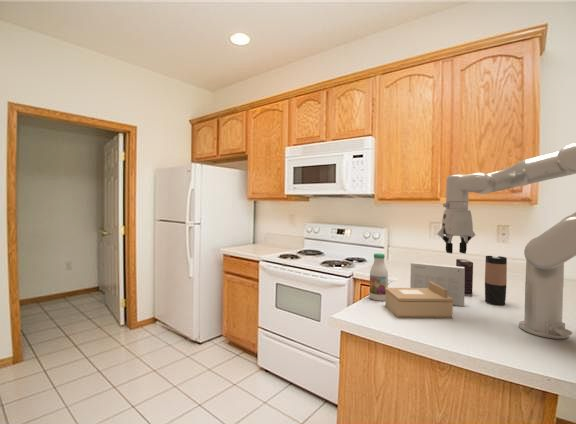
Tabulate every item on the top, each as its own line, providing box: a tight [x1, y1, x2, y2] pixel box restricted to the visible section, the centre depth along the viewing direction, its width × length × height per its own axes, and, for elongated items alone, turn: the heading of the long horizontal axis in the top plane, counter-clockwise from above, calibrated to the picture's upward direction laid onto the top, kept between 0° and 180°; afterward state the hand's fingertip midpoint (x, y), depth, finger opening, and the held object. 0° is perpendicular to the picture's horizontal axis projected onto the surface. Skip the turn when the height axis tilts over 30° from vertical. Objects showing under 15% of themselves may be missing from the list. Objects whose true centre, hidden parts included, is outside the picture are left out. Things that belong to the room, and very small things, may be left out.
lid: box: [385, 282, 454, 302], centre depth 116 cm, size 14×20×4 cm
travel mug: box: [484, 255, 508, 307], centre depth 127 cm, size 8×8×20 cm
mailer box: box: [385, 291, 454, 319], centre depth 116 cm, size 14×20×6 cm
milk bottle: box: [369, 253, 389, 302], centre depth 131 cm, size 8×8×20 cm
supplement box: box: [455, 258, 474, 297], centre depth 141 cm, size 9×5×16 cm, turn 168°
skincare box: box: [409, 261, 465, 307], centre depth 130 cm, size 21×6×16 cm, turn 57°
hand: (455, 252), depth 116 cm, fingers open, 4 cm apart
